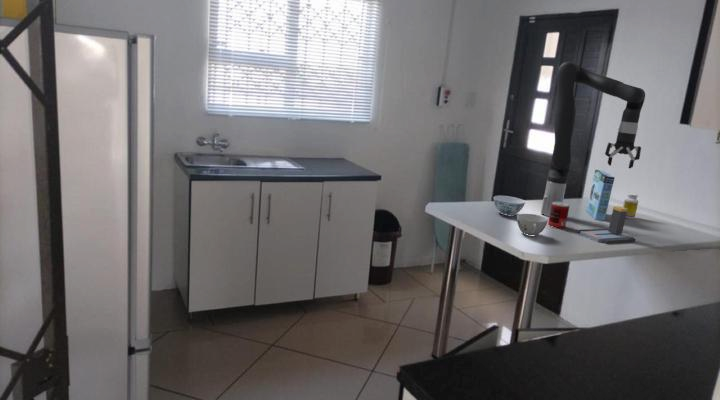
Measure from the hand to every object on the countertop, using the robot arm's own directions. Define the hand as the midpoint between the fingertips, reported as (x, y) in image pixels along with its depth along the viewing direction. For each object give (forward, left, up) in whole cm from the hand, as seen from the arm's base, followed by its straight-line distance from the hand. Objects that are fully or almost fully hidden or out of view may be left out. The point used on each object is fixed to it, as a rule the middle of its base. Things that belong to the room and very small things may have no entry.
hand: (619, 166), depth 241 cm
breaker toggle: (+2, -14, -28) cm, 31 cm away
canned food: (-23, -12, -30) cm, 40 cm away
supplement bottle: (+15, +35, -30) cm, 49 cm away
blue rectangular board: (-2, -17, -30) cm, 35 cm away
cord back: (-7, -12, -30) cm, 33 cm away
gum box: (-2, +26, -30) cm, 40 cm away
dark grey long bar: (+3, -22, -30) cm, 37 cm away
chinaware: (-46, -5, -30) cm, 55 cm away
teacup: (-35, -37, -30) cm, 59 cm away
